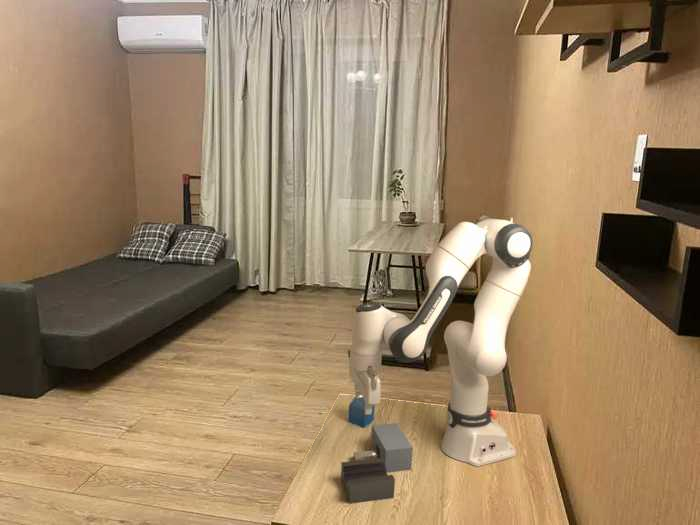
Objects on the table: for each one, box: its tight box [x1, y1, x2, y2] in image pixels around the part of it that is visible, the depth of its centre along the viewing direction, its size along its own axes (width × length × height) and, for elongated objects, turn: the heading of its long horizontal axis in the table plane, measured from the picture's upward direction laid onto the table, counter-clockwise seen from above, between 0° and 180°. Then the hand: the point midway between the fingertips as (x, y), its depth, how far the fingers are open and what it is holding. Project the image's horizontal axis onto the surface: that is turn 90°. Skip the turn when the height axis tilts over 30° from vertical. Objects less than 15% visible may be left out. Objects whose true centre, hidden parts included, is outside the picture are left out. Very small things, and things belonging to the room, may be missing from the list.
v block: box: [340, 458, 396, 504], centre depth 140 cm, size 12×10×6 cm
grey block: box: [370, 422, 413, 474], centre depth 155 cm, size 8×14×7 cm, turn 14°
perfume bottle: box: [348, 396, 376, 429], centre depth 175 cm, size 6×6×12 cm
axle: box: [353, 449, 380, 461], centre depth 155 cm, size 12×3×3 cm, turn 104°
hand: (363, 405), depth 150 cm, fingers open, 8 cm apart
